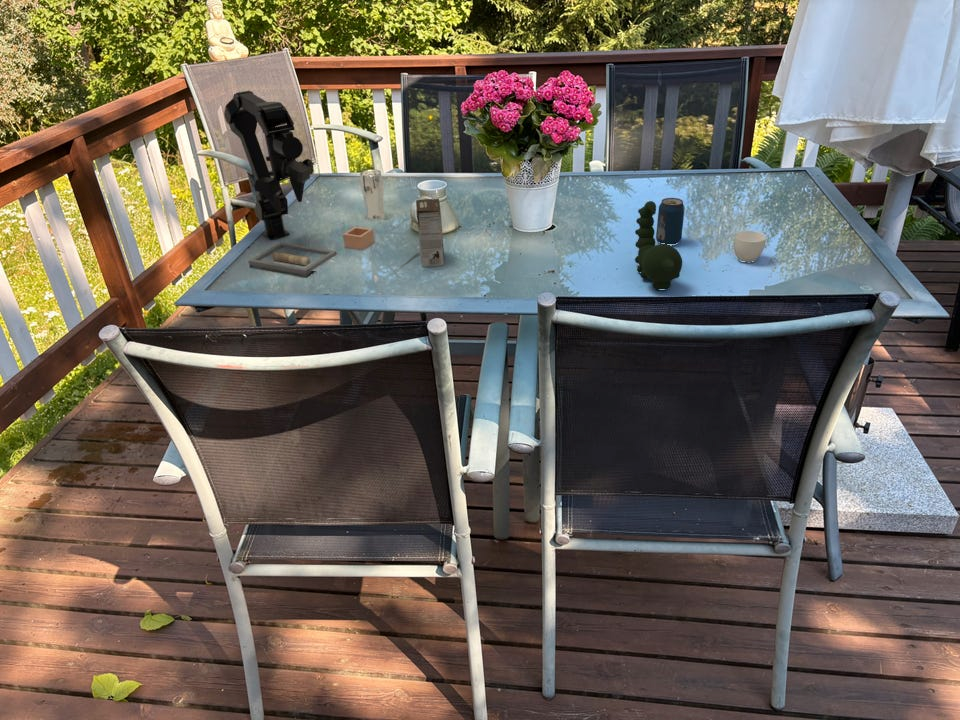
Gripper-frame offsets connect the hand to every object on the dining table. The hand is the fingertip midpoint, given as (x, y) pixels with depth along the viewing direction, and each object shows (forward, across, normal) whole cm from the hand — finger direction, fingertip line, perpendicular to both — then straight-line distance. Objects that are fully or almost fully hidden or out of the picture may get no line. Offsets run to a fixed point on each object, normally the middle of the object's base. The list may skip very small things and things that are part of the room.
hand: (289, 207), depth 200 cm
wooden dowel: (+11, -8, -1) cm, 14 cm away
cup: (+13, +36, -121) cm, 127 cm away
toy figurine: (+13, +16, -101) cm, 103 cm away
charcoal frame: (+13, -8, -5) cm, 16 cm away
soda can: (+13, +40, -99) cm, 108 cm away
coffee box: (+13, +7, -42) cm, 44 cm away
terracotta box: (+13, +7, -17) cm, 23 cm away
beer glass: (+13, +30, -8) cm, 33 cm away
